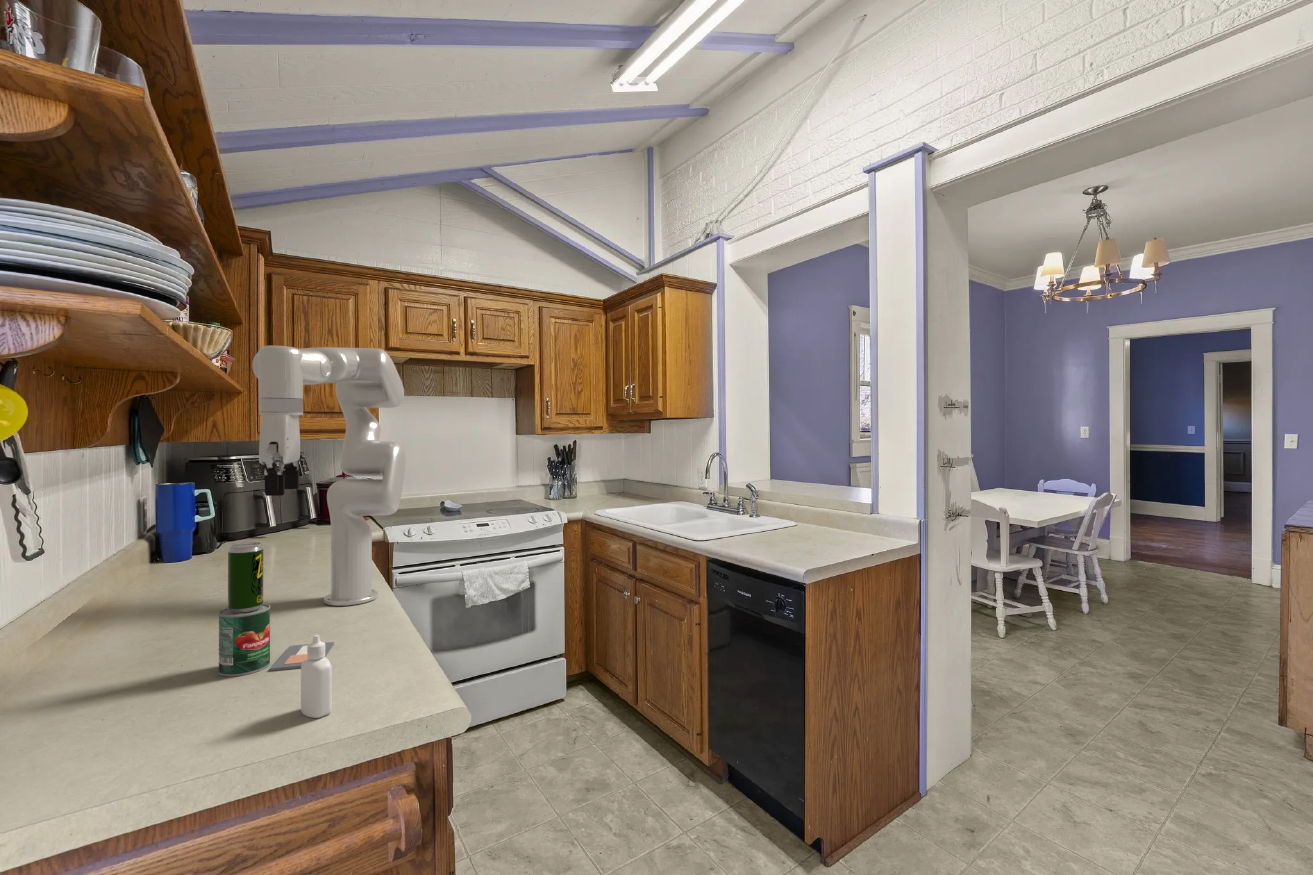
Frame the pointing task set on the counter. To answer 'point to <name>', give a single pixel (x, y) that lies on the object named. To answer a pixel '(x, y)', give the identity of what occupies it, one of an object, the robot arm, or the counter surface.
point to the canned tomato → (244, 641)
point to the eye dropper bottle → (316, 681)
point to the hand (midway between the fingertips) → (282, 492)
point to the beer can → (245, 577)
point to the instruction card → (295, 657)
